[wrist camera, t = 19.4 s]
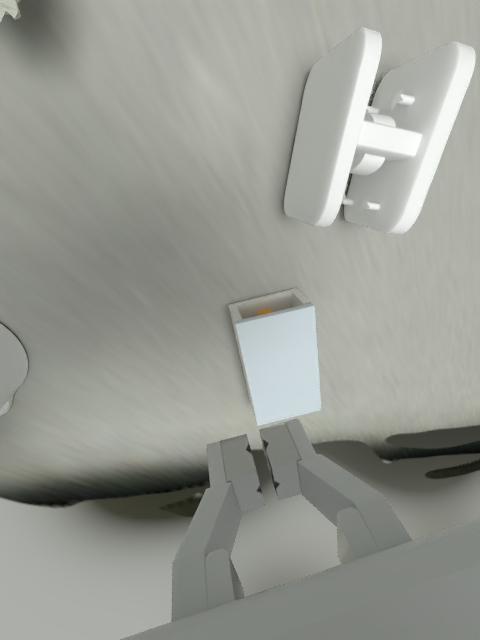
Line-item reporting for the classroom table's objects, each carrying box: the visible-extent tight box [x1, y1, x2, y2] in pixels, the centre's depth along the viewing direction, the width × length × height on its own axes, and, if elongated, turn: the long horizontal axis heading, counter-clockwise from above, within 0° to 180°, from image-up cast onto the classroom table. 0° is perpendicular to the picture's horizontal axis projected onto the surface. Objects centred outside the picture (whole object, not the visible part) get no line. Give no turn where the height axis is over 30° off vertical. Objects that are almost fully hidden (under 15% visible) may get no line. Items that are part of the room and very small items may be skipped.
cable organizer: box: [284, 27, 475, 234], centre depth 29 cm, size 15×11×12 cm
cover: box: [235, 303, 321, 426], centre depth 40 cm, size 10×18×1 cm, turn 11°
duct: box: [228, 288, 311, 418], centre depth 43 cm, size 10×18×5 cm, turn 11°
